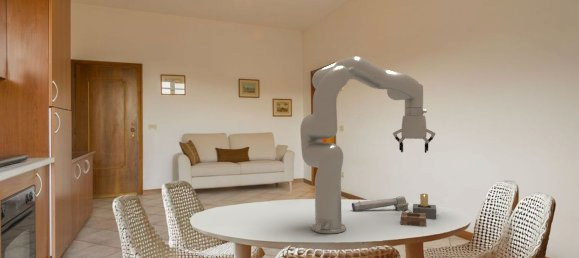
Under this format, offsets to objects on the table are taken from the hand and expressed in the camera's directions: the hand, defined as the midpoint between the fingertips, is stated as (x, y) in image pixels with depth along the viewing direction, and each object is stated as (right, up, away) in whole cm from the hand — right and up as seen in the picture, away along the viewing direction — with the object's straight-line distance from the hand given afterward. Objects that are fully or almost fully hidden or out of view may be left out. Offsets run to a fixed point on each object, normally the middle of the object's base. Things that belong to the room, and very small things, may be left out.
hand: (413, 152), depth 158 cm
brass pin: (+3, -26, -5) cm, 27 cm away
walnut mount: (-5, -26, -15) cm, 31 cm away
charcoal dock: (+3, -26, -4) cm, 27 cm away
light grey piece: (-12, -27, +8) cm, 31 cm away
